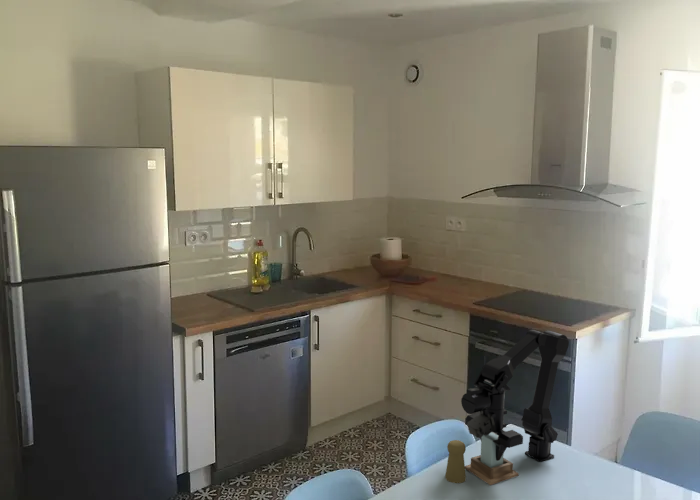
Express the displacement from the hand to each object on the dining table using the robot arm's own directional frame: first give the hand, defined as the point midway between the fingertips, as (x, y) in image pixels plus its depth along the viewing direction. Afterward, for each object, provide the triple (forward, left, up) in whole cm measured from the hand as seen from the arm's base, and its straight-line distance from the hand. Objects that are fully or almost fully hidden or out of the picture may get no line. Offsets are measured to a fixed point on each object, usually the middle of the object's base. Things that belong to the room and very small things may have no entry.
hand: (492, 456), depth 179 cm
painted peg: (0, 0, -2) cm, 2 cm away
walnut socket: (0, 0, -5) cm, 5 cm away
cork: (+12, -3, -5) cm, 13 cm away
